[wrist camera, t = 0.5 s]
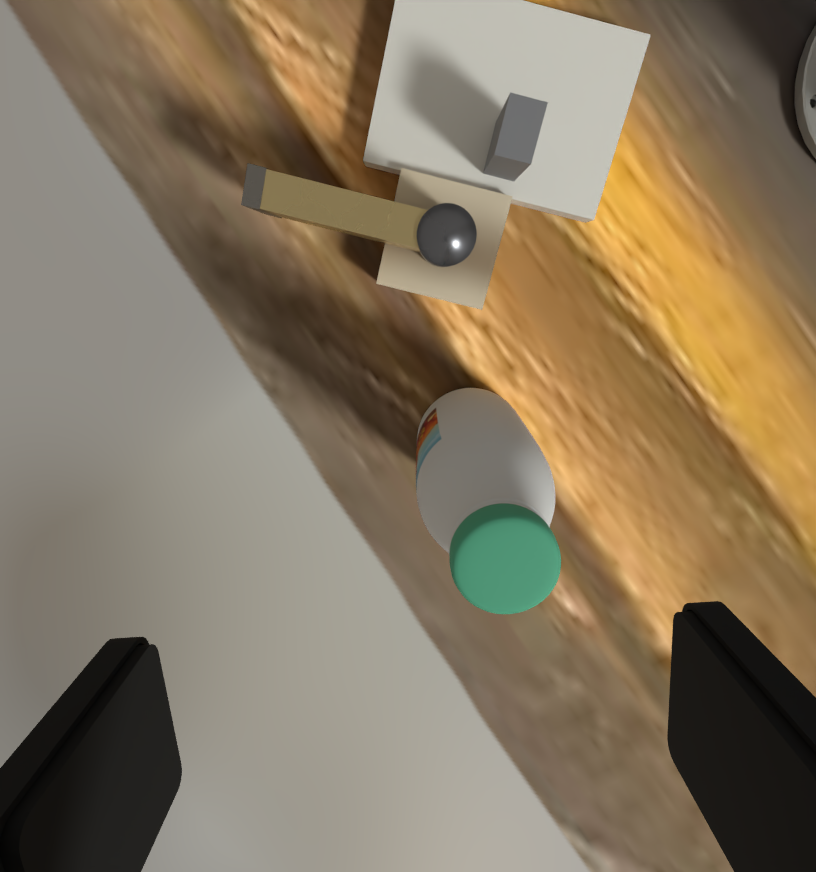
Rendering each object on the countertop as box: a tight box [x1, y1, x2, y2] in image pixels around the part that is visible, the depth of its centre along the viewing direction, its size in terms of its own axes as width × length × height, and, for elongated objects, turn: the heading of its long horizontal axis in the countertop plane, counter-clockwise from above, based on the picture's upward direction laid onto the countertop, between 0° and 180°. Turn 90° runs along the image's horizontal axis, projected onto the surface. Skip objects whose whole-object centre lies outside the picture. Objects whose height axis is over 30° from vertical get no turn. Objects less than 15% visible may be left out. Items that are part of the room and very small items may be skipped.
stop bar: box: [241, 163, 477, 267], centre depth 34 cm, size 13×3×5 cm, turn 77°
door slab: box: [363, 0, 650, 223], centre depth 34 cm, size 10×15×8 cm
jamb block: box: [376, 168, 512, 310], centre depth 38 cm, size 7×7×3 cm
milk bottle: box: [416, 388, 561, 614], centre depth 34 cm, size 8×8×20 cm
